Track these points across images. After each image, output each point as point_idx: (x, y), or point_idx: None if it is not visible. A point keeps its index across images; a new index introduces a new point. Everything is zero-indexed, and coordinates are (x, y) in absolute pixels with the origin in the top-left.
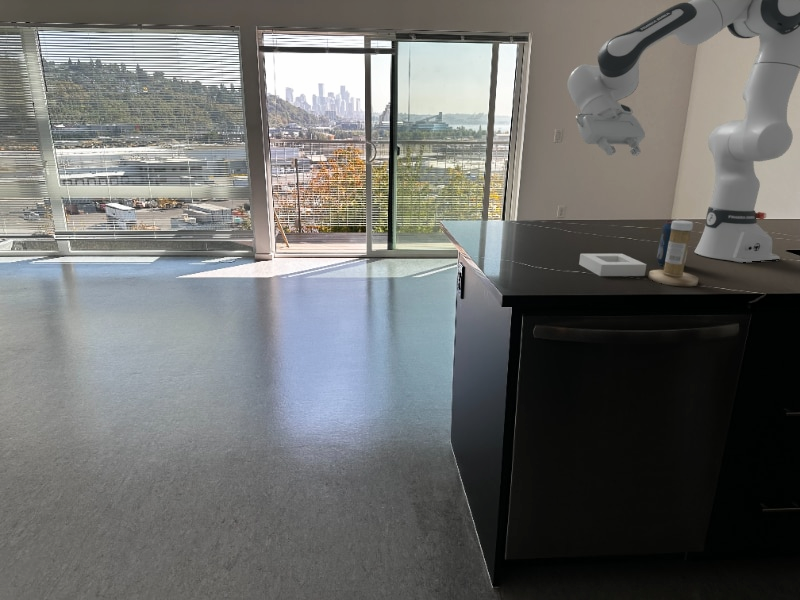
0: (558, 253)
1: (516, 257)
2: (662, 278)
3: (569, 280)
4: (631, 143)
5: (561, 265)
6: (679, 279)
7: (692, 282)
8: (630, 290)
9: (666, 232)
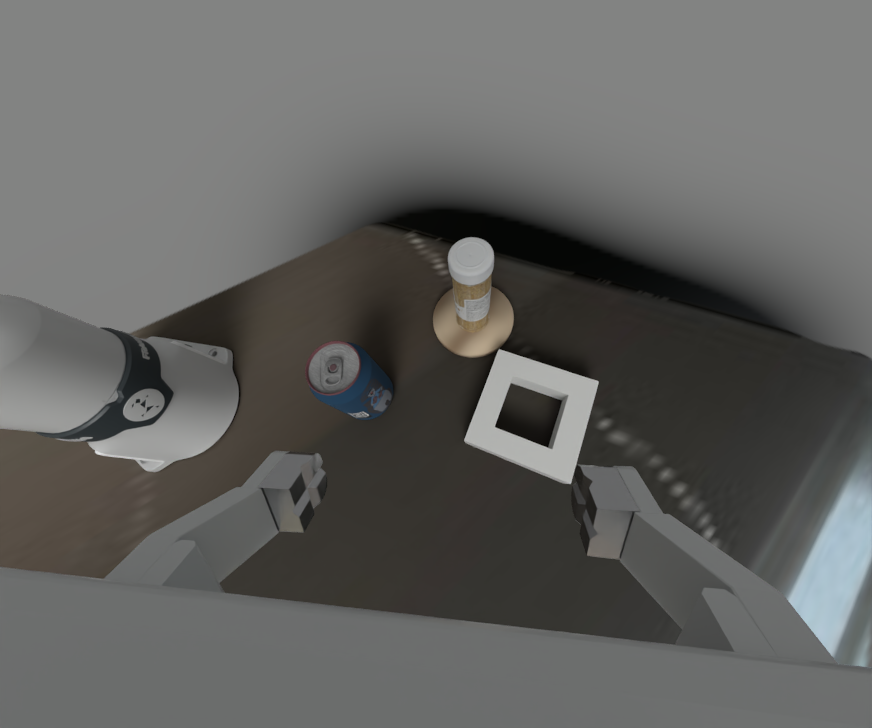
0: (531, 611)
1: None
2: (510, 310)
3: (680, 389)
4: (207, 586)
5: None
6: None
7: None
8: (602, 304)
9: (373, 378)
